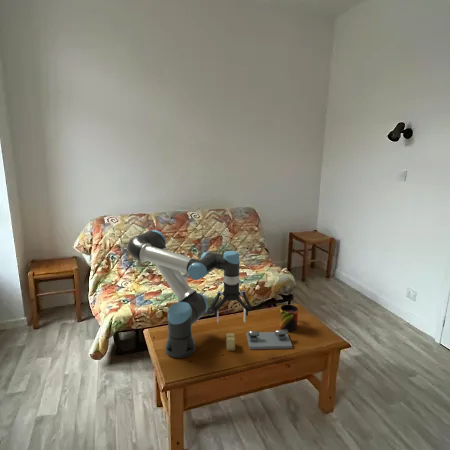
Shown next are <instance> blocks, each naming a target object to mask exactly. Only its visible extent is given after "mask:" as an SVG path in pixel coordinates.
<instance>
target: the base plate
mask: <svg viewBox="0 0 450 450" xmlns="http://www.w3.org/2000/svg"><path fill="white" fill-rule="evenodd" d="M285 336H286V340H281V341H279V339H278V338H277V336H276V335H275V331H264V332H263V331H260V332H259V336H257V342H250V338H249V336H248V332H246V339H247V343H248V349H249V350H270V349H272V350H275V349H278V350H279V349H293V344H292V341H291V339H290V337H289V333H288V334H285Z"/></svg>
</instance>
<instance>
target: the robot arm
mask: <svg viewBox="0 0 450 450" xmlns="http://www.w3.org/2000/svg"><path fill="white" fill-rule="evenodd" d="M166 245H167V239H166V237H165V235H164V234H163V233H162V232H161V231H160V230H155V229H153V230H148V231H146V232H143V233H140V234H138V235H136V236H133V237H132V238H131V239H130V240H129V241H128V244H127V251H128V254H129V255H130V256H131V258H133V259H135V260H136V261H140V262H142V263H146V262H149V263H153V264H154V265H155V266H156V267H157V270H159V272H160V274H161V276H162V277H163V279H164V280H165V282H166V283H167V285H168V286H169V288H170V289H171V291H172V292H173V294H174V295H175V296H176V298H177V301H176V302H175V303H173V304H171V305H170V306H169V307H168V309H167V317H166V318H167V327H168V328H167V331H168V333H167V334H168V336H167V339H166V343H165V346H164V347H165V348H164V349H165V354H167V356H169V357H171V358H175V359H184V358H187V357H189V356H191V355H192V354H194V353H195V351H196V341H195V339H194V337H193V334H192V333H193V332H192V331H193V330H192V329H193V328H192V326H193V325H194V324H195V323H196V322H197V321H198V320H199V319H200V318H202V317H203V316H205V314H206V313H207V311H208V309H209V302H208V300H207V299H208V298H207V297H206V296H205V295H204V294H203V293H201V292H197V290H196V289H193V288H191V287H190V285H189V284H188V282H187V280H186V279H185V278H184V276H183V275H182V273H186V274H188V276H189V277H190V279H192V280H195V281H198V280H200V279H203V278H204V277H205V276H206V275H208V274H209V273H211V272H212V271H214V270H219V271H223V291H220V290H217V292H216V297H215V298H214V300H213V302H212V304H211V305H210V310H211V311H214V317H216V323H217V324H219V323H220V322H219V321H220V320H219V319H220V318H219V316H220V315H219V313H220V311H219V309H220V308H221V307H222V306H223V305H224V304H225V303H226V301H228V302H230V301H233V302H234V301H237V302H238V303H239V304H240V305H241V306H242V307H243V322H244V323H246V322H247V320H246V319H247V316H249V310H252V309H253V308H252V304H251V302H250V301H249V298H248V297H247V295H246V290H244V289H243V290H242V291H240V263H241V260H240V253H239V252H238V251H236V250H226V251H224V253H223V254H221V253H216V252H211V251H204V252H203V253H202V254H201V255H200V259H196V258H192V257H189V256H186V255H182V254H179V253H176V252H172V251H169V250H168V247H167V246H166ZM240 295H241V296H242V297H243V299H241V298H240ZM222 296H223V297H222ZM220 297H222V299H221V300H220ZM219 300H220V301H219ZM243 300H245V301H243ZM218 301H219V302H218Z"/></svg>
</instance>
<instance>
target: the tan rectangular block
mask: <svg viewBox="0 0 450 450" xmlns="http://www.w3.org/2000/svg"><path fill="white" fill-rule="evenodd" d="M225 336H226V340H225V344H226V351H235V349H236V338H235V337H236V336H235V332H232V333H226V334H225Z"/></svg>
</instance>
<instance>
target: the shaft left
mask: <svg viewBox="0 0 450 450" xmlns="http://www.w3.org/2000/svg"><path fill="white" fill-rule="evenodd" d="M247 333H248V336H249V338H250V342H257V336H259V331H258V330H249V331H247Z"/></svg>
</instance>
